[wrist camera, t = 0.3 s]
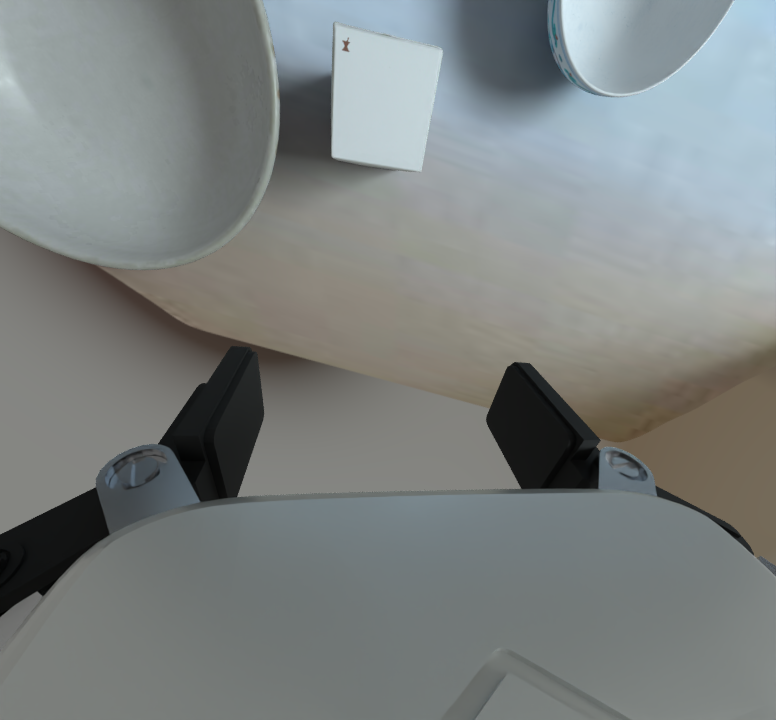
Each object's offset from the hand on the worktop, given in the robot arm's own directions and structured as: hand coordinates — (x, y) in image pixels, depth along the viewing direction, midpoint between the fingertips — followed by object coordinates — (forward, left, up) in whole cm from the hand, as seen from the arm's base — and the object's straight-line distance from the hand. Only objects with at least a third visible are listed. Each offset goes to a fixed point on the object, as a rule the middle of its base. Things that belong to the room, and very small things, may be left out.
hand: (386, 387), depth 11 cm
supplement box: (-8, -7, -31) cm, 33 cm away
